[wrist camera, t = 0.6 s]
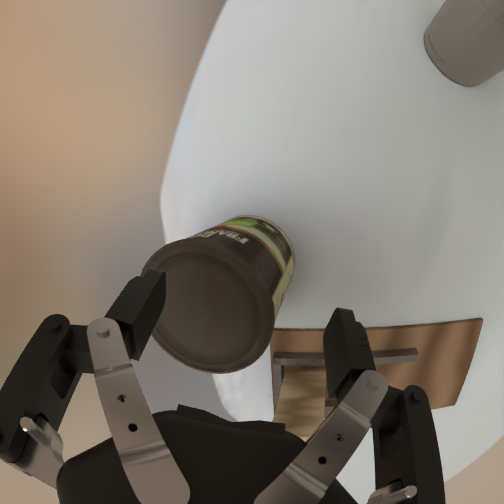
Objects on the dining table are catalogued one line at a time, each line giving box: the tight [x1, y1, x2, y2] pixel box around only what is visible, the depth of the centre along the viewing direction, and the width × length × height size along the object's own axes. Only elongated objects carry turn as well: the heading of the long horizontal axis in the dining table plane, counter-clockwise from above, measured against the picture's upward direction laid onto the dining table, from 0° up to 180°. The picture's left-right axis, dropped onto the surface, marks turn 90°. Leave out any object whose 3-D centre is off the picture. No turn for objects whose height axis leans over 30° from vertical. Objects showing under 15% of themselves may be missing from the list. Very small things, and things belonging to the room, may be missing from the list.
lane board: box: [270, 318, 483, 418], centre depth 30 cm, size 28×15×2 cm, turn 95°
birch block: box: [272, 365, 326, 441], centre depth 28 cm, size 5×5×12 cm
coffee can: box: [140, 216, 294, 374], centre depth 25 cm, size 10×10×14 cm
